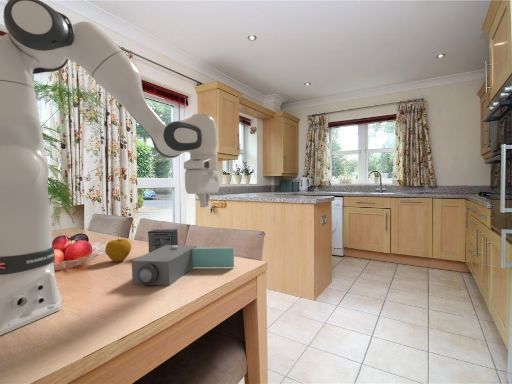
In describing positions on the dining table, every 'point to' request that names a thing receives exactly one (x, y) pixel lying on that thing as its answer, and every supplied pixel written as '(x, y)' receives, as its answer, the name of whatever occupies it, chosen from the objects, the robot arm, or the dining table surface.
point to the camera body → (162, 265)
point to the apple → (118, 249)
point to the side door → (212, 257)
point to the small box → (162, 238)
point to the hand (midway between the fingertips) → (204, 207)
